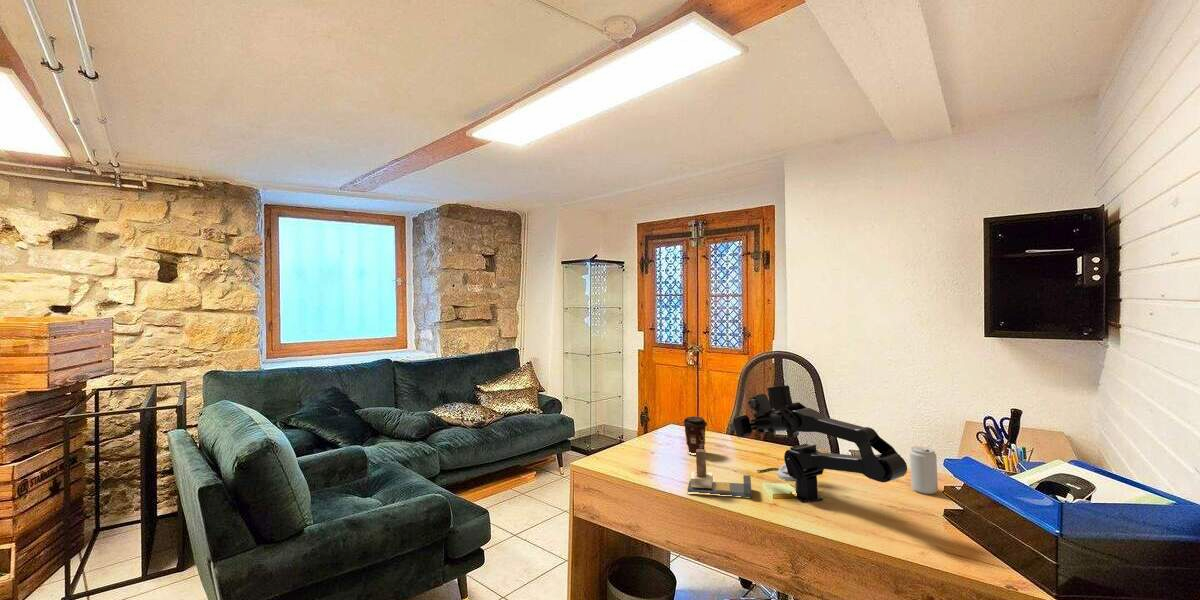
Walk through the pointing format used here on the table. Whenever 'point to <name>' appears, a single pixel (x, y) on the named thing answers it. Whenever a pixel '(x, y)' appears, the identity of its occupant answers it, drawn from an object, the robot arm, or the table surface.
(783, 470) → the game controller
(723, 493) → the clamp rail
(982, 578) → the table surface
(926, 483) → the beverage can
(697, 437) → the coffee cup
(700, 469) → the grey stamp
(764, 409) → the robot arm
